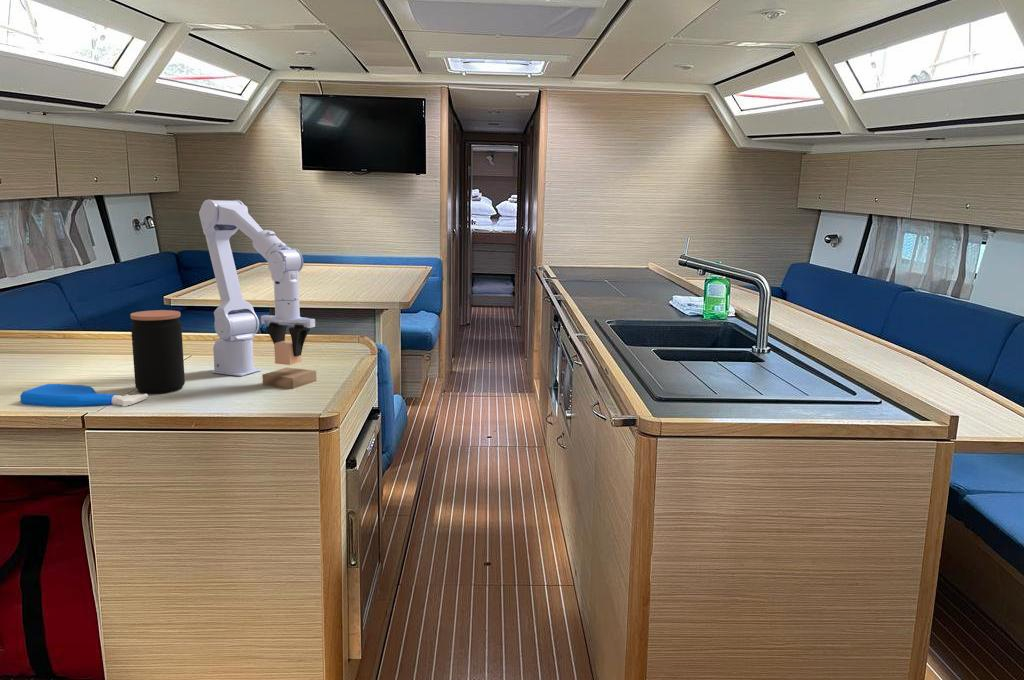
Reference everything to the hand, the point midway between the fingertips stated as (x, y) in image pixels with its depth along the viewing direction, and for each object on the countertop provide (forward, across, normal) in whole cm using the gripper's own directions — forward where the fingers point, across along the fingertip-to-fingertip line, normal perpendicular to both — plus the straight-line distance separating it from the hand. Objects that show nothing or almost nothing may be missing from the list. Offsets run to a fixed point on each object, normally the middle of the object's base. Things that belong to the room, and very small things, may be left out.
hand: (289, 354), depth 188 cm
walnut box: (+7, 0, 0) cm, 7 cm away
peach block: (+2, 0, 0) cm, 2 cm away
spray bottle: (+8, -29, -33) cm, 45 cm away
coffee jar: (+7, -23, -18) cm, 30 cm away
